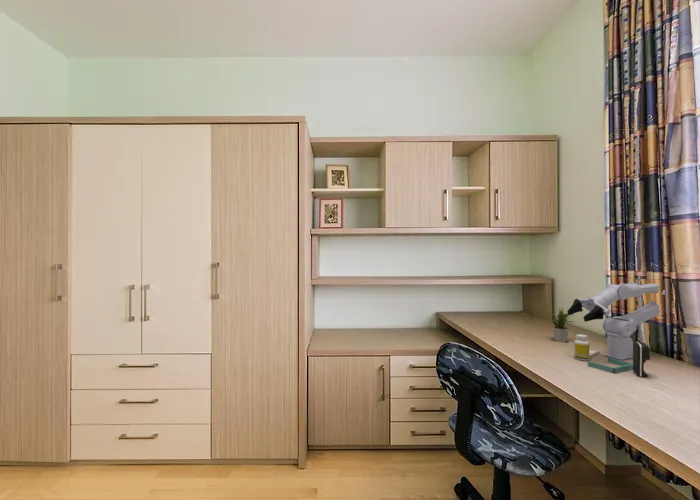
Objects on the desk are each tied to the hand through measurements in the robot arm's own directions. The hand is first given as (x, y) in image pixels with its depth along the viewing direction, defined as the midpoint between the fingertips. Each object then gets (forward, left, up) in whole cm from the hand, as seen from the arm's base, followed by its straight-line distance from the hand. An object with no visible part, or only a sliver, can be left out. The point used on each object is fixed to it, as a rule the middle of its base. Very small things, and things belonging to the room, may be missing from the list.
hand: (576, 316), depth 158 cm
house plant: (-25, -24, -18) cm, 39 cm away
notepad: (-14, -4, -18) cm, 23 cm away
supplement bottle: (-4, 0, -18) cm, 19 cm away
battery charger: (-5, +22, -18) cm, 29 cm away
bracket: (-4, +12, -18) cm, 22 cm away
